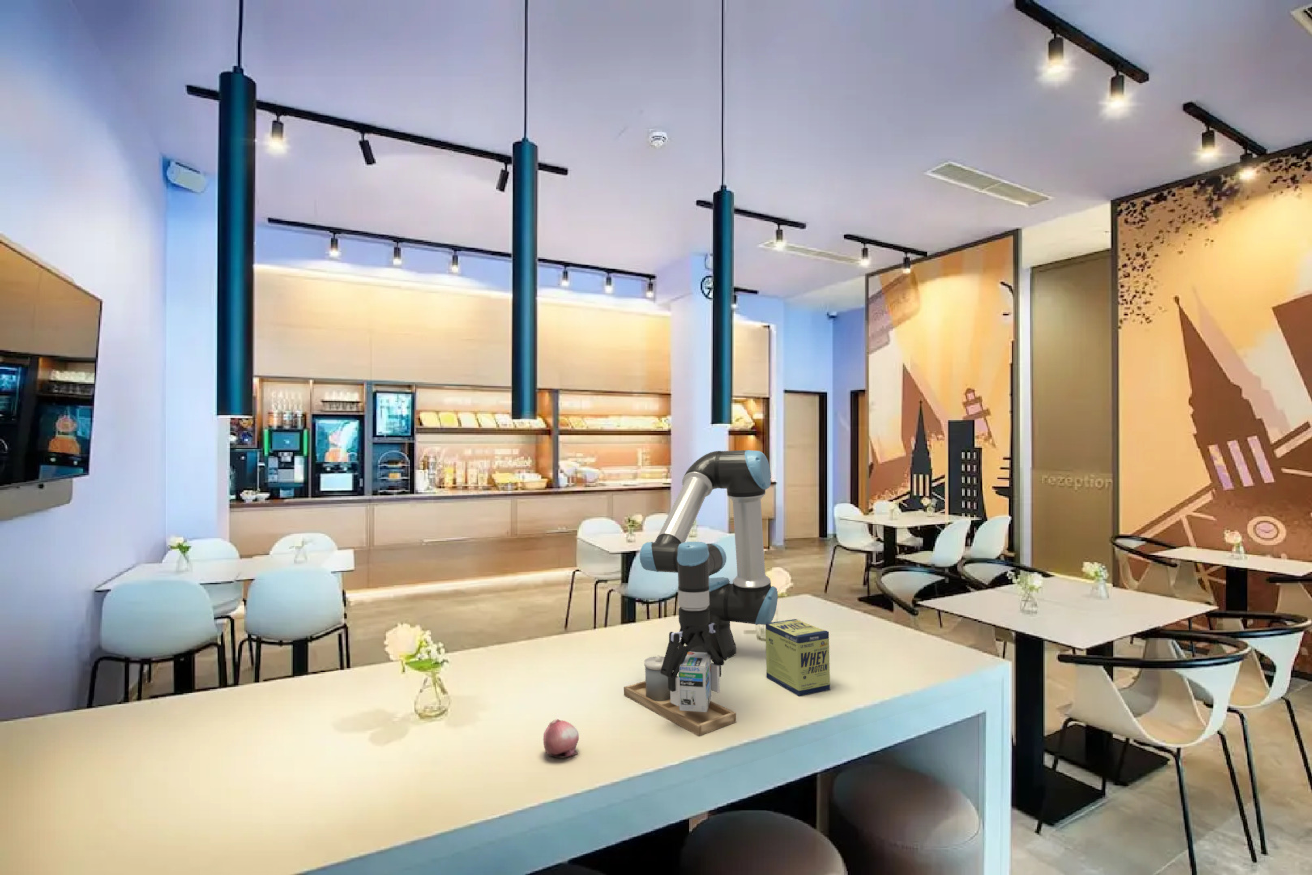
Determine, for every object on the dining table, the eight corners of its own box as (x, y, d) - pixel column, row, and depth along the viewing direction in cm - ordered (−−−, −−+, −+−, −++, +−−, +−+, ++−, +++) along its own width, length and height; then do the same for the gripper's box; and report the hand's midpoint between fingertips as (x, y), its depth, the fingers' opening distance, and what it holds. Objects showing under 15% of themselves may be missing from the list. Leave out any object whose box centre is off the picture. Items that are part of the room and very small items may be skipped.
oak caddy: (659, 685, 171) (658, 676, 171) (736, 722, 146) (735, 712, 146) (623, 695, 164) (623, 686, 164) (698, 736, 140) (698, 726, 140)
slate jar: (661, 688, 166) (661, 649, 167) (679, 696, 160) (678, 656, 161) (639, 695, 162) (638, 655, 162) (656, 703, 156) (655, 662, 156)
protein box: (799, 697, 161) (798, 636, 161) (765, 677, 175) (764, 622, 176) (831, 690, 165) (830, 631, 166) (795, 671, 179) (794, 617, 180)
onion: (544, 751, 135) (549, 716, 138) (579, 755, 135) (583, 719, 138) (537, 757, 128) (542, 719, 130) (575, 760, 128) (579, 722, 130)
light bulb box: (707, 713, 143) (706, 666, 144) (678, 711, 145) (677, 664, 145) (712, 695, 154) (711, 651, 154) (685, 693, 155) (684, 650, 156)
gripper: (720, 596, 160) (721, 681, 160) (644, 612, 146) (646, 705, 145) (740, 601, 154) (742, 689, 154) (663, 618, 140) (665, 715, 139)
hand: (695, 697), depth 149 cm, fingers closed on light bulb box, 12 cm apart
